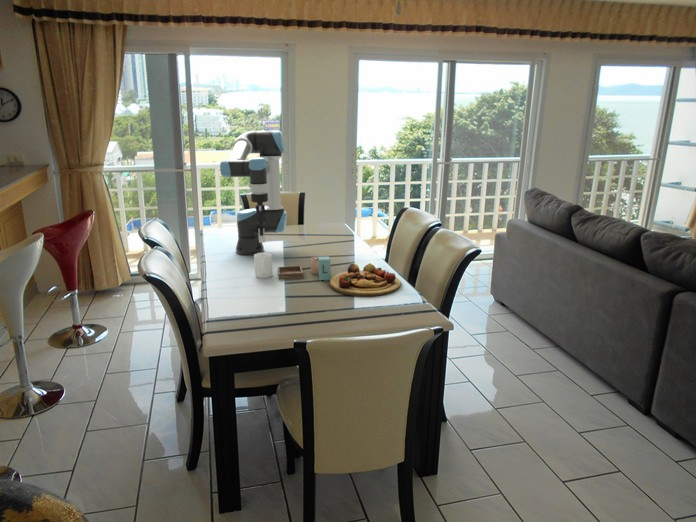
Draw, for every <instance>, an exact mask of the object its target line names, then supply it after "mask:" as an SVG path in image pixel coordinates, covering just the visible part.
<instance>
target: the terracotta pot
mask: <svg viewBox="0 0 696 522" xmlns="http://www.w3.org/2000/svg"><path fill="white" fill-rule="evenodd" d="M318 257H322V256H320V255H319V256H316V255H315V256H311V258H310V273H311V274H312V275H318V276H319V267H318Z"/></svg>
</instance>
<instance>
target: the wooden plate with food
mask: <svg viewBox="0 0 696 522" xmlns="http://www.w3.org/2000/svg"><path fill="white" fill-rule="evenodd" d="M401 286H402V283H401V280H400V279H399V278H398V277H397V276H396V274H395V273H394V272H389V271H388V270H386V269H385V270H384V269H382V267H380V266H378V267H376V266H375V265H374V264H372V263H367V264H366V265H365V266H363V269H362V270H361V269H360V267H359V265H358V264H357V263H355V262H352V263H351V264H349V265H348V267H347V271H343V272H340V273H337V274H335V275H333V276H332V277H331V280H329V287H331V288H332V290H334V291H336V292H338V293H340V294H343V295H346V296H353V297H360V298H361V297H364V298H365V297H366V298H367V297H369V298H371V297H382V296H386V295H390V294H393V293H395V292H396V291H398V290H399V289H400V288H401Z"/></svg>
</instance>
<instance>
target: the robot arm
mask: <svg viewBox="0 0 696 522" xmlns="http://www.w3.org/2000/svg"><path fill="white" fill-rule="evenodd" d="M284 153H285V143H284V138H283V134H282V132H281V131H279V130H250V131H246V132H244V133H241V135H239V136H238V137H237V138H236V139H235V141H234V143H233V150H232V152H231V154H230V156H229V158H228V159H226V160H221V162H220V165H219V170H220V176H222V177H224V178H239V177H240V178H244V177H245V178H247V177H249V183H250V185H249V186H248V188H249V189H250V201H251V202H252V203H256V205H255V208H254V207H253V208H247V209H243V210H240V211H238V212H237V214H236V223H237V237H238V238H237V243H236V247H235V252H236V254H238V255H241V256H242V255H244V256H252V255H253V256H254V255H255V254H257V253H264V251H265V250H264V249H265V248H264V245H263V243H266V235H265V233H267V234H269V233H270V234H272V233H273V234H274V233H276V234H277V233H284V232H285V231H286V227H287V226H286V225H287V218H288V217H287V211H286V210H284V209H285V208H284V206H283V205H282V204H281V203H282V200H281V179H280V177H281V175H280V159H281V158H282V157H283V154H284ZM251 154H259V157H251V158H249V159H248V160H247V158H248V156H249V155H251ZM263 203H264V204H263Z"/></svg>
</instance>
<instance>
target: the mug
mask: <svg viewBox="0 0 696 522" xmlns="http://www.w3.org/2000/svg"><path fill="white" fill-rule="evenodd" d="M253 263H254V275H255V277H256V278H259V279H267V278H270V277H271V278H272V276H273V255H272V253H270V252H262V253H257V254H254V255H253Z"/></svg>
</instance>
